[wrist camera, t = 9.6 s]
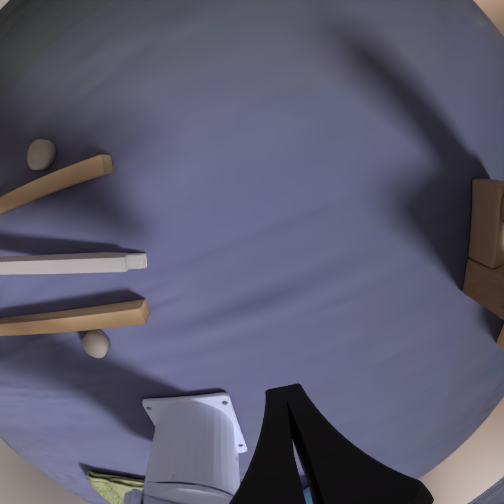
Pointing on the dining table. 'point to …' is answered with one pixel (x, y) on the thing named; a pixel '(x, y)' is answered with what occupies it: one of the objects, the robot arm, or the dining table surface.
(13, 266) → the caliper
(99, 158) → the rails
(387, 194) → the dining table surface
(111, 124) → the dining table surface
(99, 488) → the washcloth
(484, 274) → the brown wooden frame
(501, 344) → the small box
